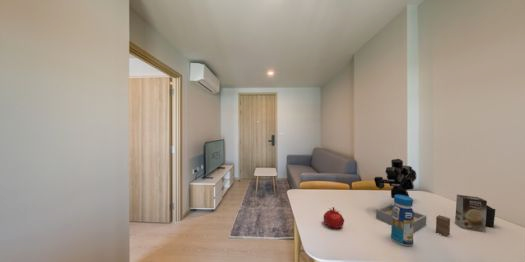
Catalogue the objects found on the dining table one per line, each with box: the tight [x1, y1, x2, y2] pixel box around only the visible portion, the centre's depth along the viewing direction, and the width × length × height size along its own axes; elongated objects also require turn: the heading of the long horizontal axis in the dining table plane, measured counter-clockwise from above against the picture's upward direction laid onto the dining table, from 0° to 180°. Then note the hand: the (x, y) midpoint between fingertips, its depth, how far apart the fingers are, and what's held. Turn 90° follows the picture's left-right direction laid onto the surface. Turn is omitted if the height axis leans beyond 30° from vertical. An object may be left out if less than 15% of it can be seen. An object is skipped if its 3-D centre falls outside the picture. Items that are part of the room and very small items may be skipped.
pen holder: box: [485, 204, 496, 228], centre depth 104 cm, size 9×9×10 cm
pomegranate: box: [323, 207, 345, 229], centre depth 96 cm, size 10×10×9 cm
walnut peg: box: [435, 214, 451, 238], centre depth 92 cm, size 4×4×8 cm
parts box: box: [375, 204, 427, 233], centre depth 103 cm, size 17×17×5 cm
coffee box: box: [454, 194, 488, 233], centre depth 99 cm, size 9×6×16 cm
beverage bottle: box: [390, 195, 415, 247], centre depth 84 cm, size 8×8×20 cm
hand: (388, 188), depth 104 cm, fingers open, 9 cm apart
